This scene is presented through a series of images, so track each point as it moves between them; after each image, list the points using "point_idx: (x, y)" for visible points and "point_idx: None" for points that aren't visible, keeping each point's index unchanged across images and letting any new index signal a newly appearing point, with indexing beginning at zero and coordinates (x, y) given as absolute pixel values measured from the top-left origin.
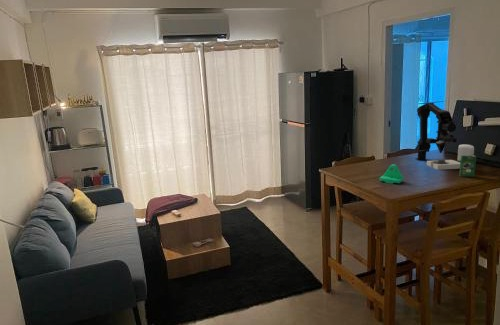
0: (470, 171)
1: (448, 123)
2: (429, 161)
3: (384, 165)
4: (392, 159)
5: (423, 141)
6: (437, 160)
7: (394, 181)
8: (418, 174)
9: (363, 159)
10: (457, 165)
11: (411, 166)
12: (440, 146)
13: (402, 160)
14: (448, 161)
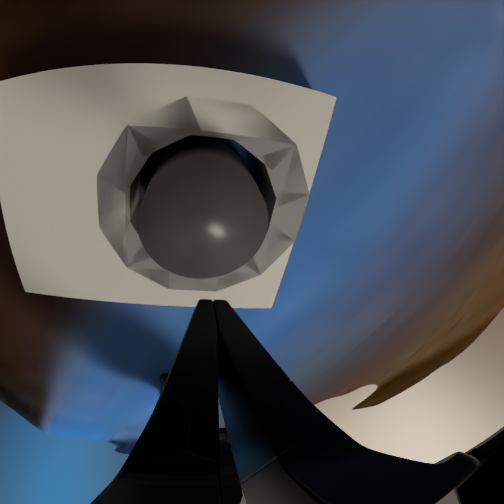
0: None
1: None
2: (268, 285)
3: (441, 309)
4: (320, 393)
5: (230, 500)
6: (265, 208)
7: None
8: (490, 83)
9: (396, 384)
10: (65, 68)
11: (384, 268)
12: (315, 432)
13: (298, 382)
14: (74, 235)
